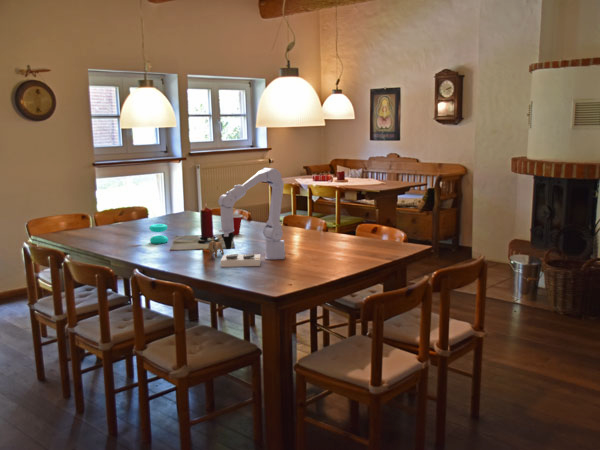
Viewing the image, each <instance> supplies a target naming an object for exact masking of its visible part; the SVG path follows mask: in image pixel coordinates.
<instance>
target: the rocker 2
mask: <svg viewBox="0 0 600 450" xmlns="http://www.w3.org/2000/svg"><path fill="white" fill-rule="evenodd" d="M243 255H244V256H243V258H244V259H245V258H248V259H250V258H251V257H254V256H255V253H254V252H253V253H247V254H243Z"/></svg>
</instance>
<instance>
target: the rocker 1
mask: <svg viewBox="0 0 600 450" xmlns="http://www.w3.org/2000/svg"><path fill="white" fill-rule="evenodd" d="M226 255H227V256H226V259H228V258H231V259H233V258H237V257H238V255H239V254H238V253H235V254H234V253H233V254H226Z"/></svg>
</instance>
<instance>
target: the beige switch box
mask: <svg viewBox="0 0 600 450" xmlns="http://www.w3.org/2000/svg"><path fill="white" fill-rule="evenodd" d="M254 254H255V253H254ZM227 255H228V254H222V257H221V259H220V267H222V268H223V267H226V268H227V267H229V268H230V267H260V266H261V261H262V257H261V253H259V254H258V253H257V254H255V256H254V257H251V258H250V259H248V258H245V259H244V258H243V256H244V255H245V254H238V257H237V258H233V259H231V258H228V259H226V256H227Z"/></svg>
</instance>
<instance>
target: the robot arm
mask: <svg viewBox="0 0 600 450" xmlns="http://www.w3.org/2000/svg"><path fill="white" fill-rule="evenodd" d="M261 182H266V183H267V184H268V185H269V186H270V187H271V197H270V204H269V205H270V206H269V212H268V220H266V222H265V226H264V227H263V231H262V233H263V236H264V237H265V257H264V259H265V261H266V260H285V256H286V250H285V248H286V247H285V239H282V237H283V235H284V234H283V229H282V228H283V226H282V223H281V222H280V219H281V211H282V202H283V196H284V195H283V194H284V187H285V186H284V185H285V184H284V182H283V178H282V173H281V172H280V171H279V169H277V168H270V167H263V168H262V169H260V170H258V171H257V172H256V173H255V174H254V175H252V176H251V177H250V178H248V180H246V181H245V182H244V183H243V184H235V185H234V186H233V188H232V189H230V190H228V191H226V192H225V193H223V194H221V195H220V196H219V198H218V200H217V203H218V205H219V206H220V224H221V226H220V229H218V232H222V233H221V238H222V240H223V242H224V246H225V249H226V250H231V249H232V243H233V238H234V236H235V235H234V233H231V232H233V231H234V222H233V214H234V206H235V203H236V202H237V201H239V200H240V199H242V198H243V197H244V196H245V195H246V194H247V191H248V190H250V189H251V188H253V187H254V186H255V185H257V184H259V183H261Z"/></svg>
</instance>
